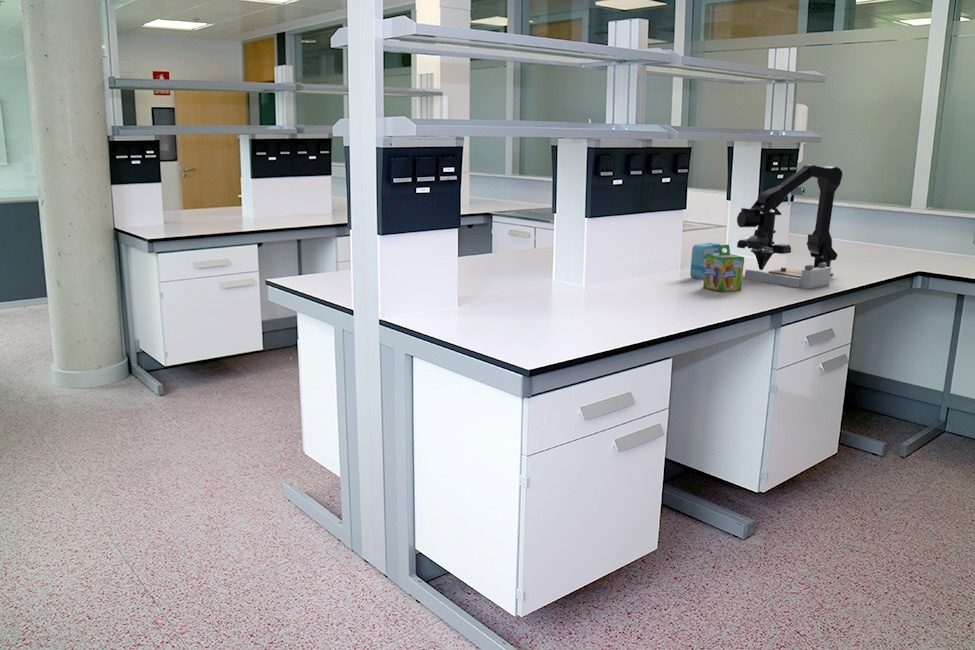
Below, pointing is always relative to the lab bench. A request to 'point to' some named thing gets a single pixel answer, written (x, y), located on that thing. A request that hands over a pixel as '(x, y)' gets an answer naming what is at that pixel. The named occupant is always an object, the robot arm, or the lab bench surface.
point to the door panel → (787, 272)
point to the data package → (701, 258)
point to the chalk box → (723, 271)
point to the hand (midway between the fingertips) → (761, 269)
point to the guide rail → (773, 278)
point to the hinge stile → (815, 276)
